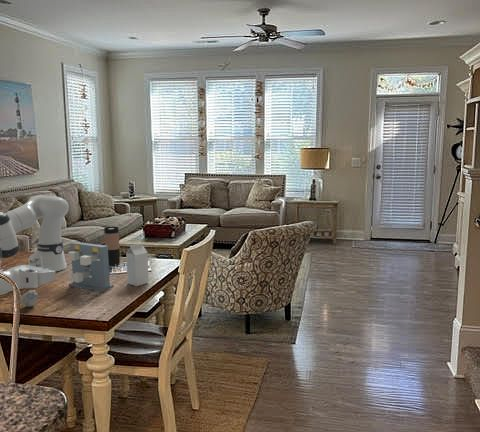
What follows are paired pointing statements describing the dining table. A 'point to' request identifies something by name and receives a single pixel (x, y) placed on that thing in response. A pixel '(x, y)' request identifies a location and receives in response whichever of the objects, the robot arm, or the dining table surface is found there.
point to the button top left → (74, 255)
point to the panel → (92, 267)
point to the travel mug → (112, 244)
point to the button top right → (88, 259)
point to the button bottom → (80, 276)
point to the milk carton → (137, 265)
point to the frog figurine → (29, 298)
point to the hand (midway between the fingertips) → (49, 268)
